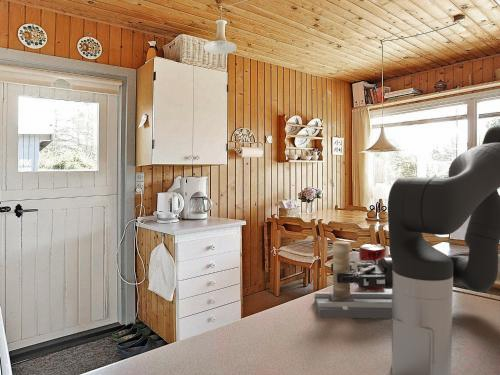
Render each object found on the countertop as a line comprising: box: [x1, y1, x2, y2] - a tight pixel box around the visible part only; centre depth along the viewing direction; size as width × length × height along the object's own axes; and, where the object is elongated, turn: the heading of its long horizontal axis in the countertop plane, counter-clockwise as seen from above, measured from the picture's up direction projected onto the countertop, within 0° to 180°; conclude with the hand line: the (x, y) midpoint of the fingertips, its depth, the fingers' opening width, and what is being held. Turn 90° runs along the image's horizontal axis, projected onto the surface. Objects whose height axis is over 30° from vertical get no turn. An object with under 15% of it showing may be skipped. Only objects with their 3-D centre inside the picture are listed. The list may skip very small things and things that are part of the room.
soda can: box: [358, 244, 387, 293], centre depth 104 cm, size 7×7×12 cm
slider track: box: [314, 291, 392, 320], centre depth 89 cm, size 24×10×3 cm, turn 86°
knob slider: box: [329, 240, 354, 302], centre depth 89 cm, size 5×5×14 cm
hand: (333, 272), depth 89 cm, fingers open, 8 cm apart
